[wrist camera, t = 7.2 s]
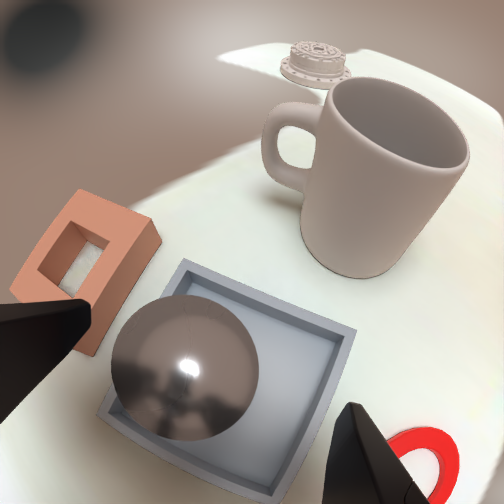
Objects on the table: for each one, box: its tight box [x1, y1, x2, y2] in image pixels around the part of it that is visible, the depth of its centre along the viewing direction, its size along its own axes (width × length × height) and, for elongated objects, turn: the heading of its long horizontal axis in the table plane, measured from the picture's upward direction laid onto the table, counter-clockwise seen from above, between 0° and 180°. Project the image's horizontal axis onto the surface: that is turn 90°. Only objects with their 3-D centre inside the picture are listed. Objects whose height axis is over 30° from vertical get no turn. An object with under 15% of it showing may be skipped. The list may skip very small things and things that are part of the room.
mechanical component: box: [281, 41, 351, 89], centre depth 33 cm, size 10×4×10 cm
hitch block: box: [10, 189, 162, 357], centre depth 19 cm, size 10×8×3 cm
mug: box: [261, 77, 470, 278], centre depth 17 cm, size 12×8×11 cm
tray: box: [96, 258, 357, 504], centre depth 15 cm, size 11×11×2 cm
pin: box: [111, 295, 259, 441], centre depth 10 cm, size 3×3×12 cm
